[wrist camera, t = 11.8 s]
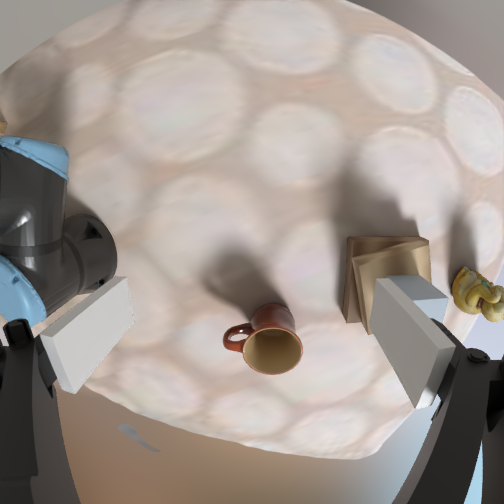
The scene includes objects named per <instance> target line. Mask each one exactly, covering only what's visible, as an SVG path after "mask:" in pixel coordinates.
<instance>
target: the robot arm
mask: <svg viewBox="0 0 504 504" xmlns="http://www.w3.org/2000/svg"><path fill="white" fill-rule="evenodd" d="M68 166H69V154H68V151H67V150H66V149H65V148H64V147H62V146H60V145H56V144H53V143H49V142H45V141H40V140H35V139H29V138H20V137H14V136H2V137H1V138H0V313H1V315H2V316H3V317H4V318H5V319H6V320H7V321H8V323H7V324H5V325H4V327H3V331H4V333H5V336H6V339H7V341H8V344H9V346H3V345H2V342H1V339H0V504H81V503H80V500H79V497H78V494H77V492H76V488H75V485H74V481H73V478H72V475H71V471H70V467H69V463H68V459H67V455H66V451H65V446H64V441H63V436H62V430H61V425H60V418H59V412H58V406H57V405H58V404H57V396H56V389H55V387H54V385H53V382H54V381H55V380H56V379H57V380H58V382H59V384H60V386H61V388H62V390H65V391H68V392H71V393H74V394H76V392H77V391H78V390H79V388H80V387H81V386H82V385H83V383H84V382H85V381H86V380H87V378H88V377H89V376H90V375H91V373H92V372H93V371H94V370H95V369H96V367H97V366H98V365H99V364H100V362H101V361H102V360H103V359H104V358H105V356H106V355H107V354H108V353H109V352H110V350H111V349H112V348H113V347H114V346H115V344H116V343H117V342H118V341H119V340H120V338H121V337H122V336H123V335H124V334H125V333H126V331H127V330H128V329H129V328H130V327H131V326H132V324H133V323H134V322H135V320H134V315H133V310H132V305H131V299H130V294H129V288H128V282H127V277H118V276H115V277H114V278H113V276H114V274H115V271H116V267H117V252H116V247H115V243H114V241H113V238H112V236H111V234H110V232H109V231H108V229H107V228H106V227H105V226H104V224H103V223H102V222H100V221H99V220H98V219H96V218H95V217H93V216H90V215H86V214H80V215H75V216H72V217H69V218H67V219H66V220H64V216H65V202H66V191H67V182H68V181H69V178H68ZM88 293H92V294H90V295H89V296H88V297H86V298H85V299H84V300H82V301H81V302H80V303H78V304H77V305H76V306H74V307H73V308H72V309H71V310H69V311H68V312H67V313H65V314H64V315H63V316H61V317H60V318H59V319H58V320H56V321H55V322H54V323H52V324H51V325H50V326H49V327H47V328H46V329H45V330H44V331H42V332H41V333H40V334H39V335H38V336H36V337H35V338H34V337H33V334H32V331H31V327H32V326H34V325H36V324H37V323H39V322H42V321H44V320H45V319H46V318H47V317H48V316H49V315H51V314H52V313H53V312H55V311H56V310H57V309H58V308H60V307H61V306H62V305H64V304H65V303H66V302H68V301H69V300H70V299H72V298H73V297H74V296H76V295H81V294H88ZM369 327H370V329H371V330H372V332H373V334H374V336H375V337H376V339H377V341H378V342H379V344H380V346H381V348H382V349H383V351H384V353H385V355H386V356H387V358H388V360H389V362H390V363H391V365H392V367H393V369H394V371H395V372H396V374H397V376H398V378H399V380H400V382H401V383H402V385H403V387H404V389H405V391H406V393H407V395H408V396H409V398H410V400H411V402H412V404H413V406H414V408H415V409H418V408H423V407H427V406H431V405H432V403H433V401H434V399H435V397H436V395H437V394H438V396H439V397H440V399H441V402H440V404H439V406H438V408H437V410H436V411H435V413H434V415H433V417H432V419H431V420H432V424H431V426H430V429H429V432H428V434H427V436H426V439H425V441H424V443H423V446H422V448H421V450H420V452H419V454H418V457H417V459H416V461H415V463H414V465H413V467H412V469H411V471H410V473H409V475H408V476H407V478H406V480H405V482H404V484H403V486H402V487H401V489H400V491H399V493H398V494H397V496H396V498H395V500H394V501H393V503H392V504H464V501H465V498H466V495H467V492H468V489H469V486H470V483H471V480H472V477H473V473H474V470H475V466H476V462H477V458H478V454H479V450H480V446H481V441H482V452H483V483H482V501H481V504H504V355H503V357H502V360H490V357H489V356H488V355H487V354H486V353H485V352H483V351H482V350H479V349H474V348H468V349H466V348H465V347H464V346H463V345H462V343H461V342H460V341H459V340H458V339H457V338H456V337H455V336H454V335H452V333H451V332H450V331H449V330H447V328H446V327H445V326H444V325H443V324H442V323H441V322H439V321H437V320H435V319H433V318H429V317H428V316H427V315H426V314H425V313H424V312H423V311H422V310H421V309H420V308H419V307H418V306H417V305H416V304H415V303H414V302H413V301H412V300H411V299H410V298H409V297H408V296H407V295H406V294H405V293H404V292H403V291H402V290H401V289H400V288H399V287H398V286H397V285H396V284H395V283H394V282H392V281H391V280H390V279H389V278H380V279H376V282H375V290H374V297H373V303H372V310H371V316H370V321H369Z"/></svg>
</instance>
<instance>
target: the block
mask: <svg viewBox="0 0 504 504" xmlns="http://www.w3.org/2000/svg"><path fill="white" fill-rule="evenodd" d="M386 278H389V279H390V280H391V281H392V282H394V283H395V284H396V285H397V286H398V287H399V288H400V289H401V290H402V291H403V292H404V293H405V294H406V295H407V296H408V297H409V298H410V299H411V300H412V301H413V302H414V303H415V304H416V305H417V306H418V307H419V308H420V309H421V310H422V311H423V312H424V313H425V314H426V315H427V316H428V317H429V318H433V319H435V320H437V321H439V322H441V323H442V322H443V319H444V315H445V311H446V307H447V303H448V297H447V296H446V295H444V294H443V293H442V292H441V291H440V290H438V289H437V288H436V287H434V286H433V285H432V284H431V283H429V282H428V281H427V280H426V279H424V278H423V277H422V276H420V275H395V276H386Z"/></svg>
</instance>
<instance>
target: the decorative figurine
mask: <svg viewBox="0 0 504 504" xmlns="http://www.w3.org/2000/svg"><path fill="white" fill-rule="evenodd" d="M451 287H452V294H453V298H454V303H455V305H456V306H457V307H458V308H459V309H460V310H461V311H463V312H466V313H468V314H479V313H482V314H483V315H484V317H485V318H486V319H487V320H489V321H491V322H498V321H500V320H501V319H504V288H503V287H502V286H498V285H496V286H494V284H493V283H492V282H489V281H488V280H487V279H486V278H485V277H483V276H482V275H481V274H479V273H478V272H476V271H473V270H470V269H468V268H467V267H463V268H462V269H461V270H460V271H459V273H458V274H457V276H456V278H455V280H454V283H453V284H452V285H451Z"/></svg>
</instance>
